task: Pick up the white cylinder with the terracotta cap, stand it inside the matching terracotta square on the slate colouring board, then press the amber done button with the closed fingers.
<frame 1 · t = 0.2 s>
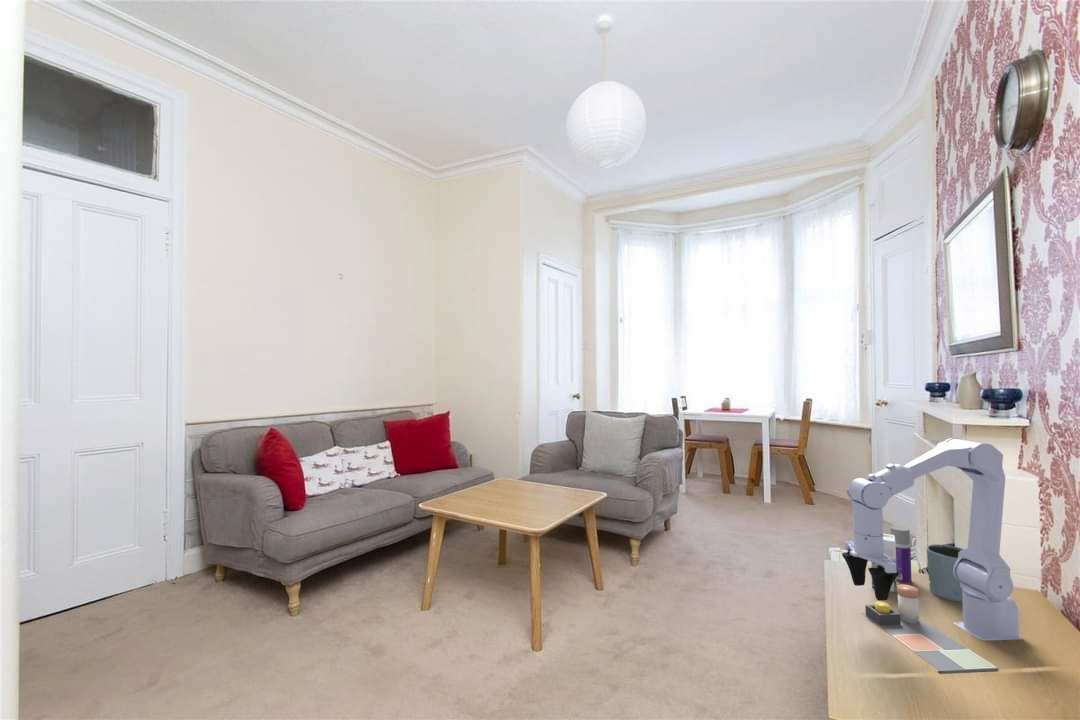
hand: (870, 592, 117), 10 cm above the table, tool pointing down, fingers open, 7 cm apart
button housing: (882, 619, 123), resting on colouring board
teal plant pot: (951, 597, 136), on the table
white cylinder: (908, 619, 123), point 1 cm above the table, touching colouring board
done button: (882, 609, 123), point 3 cm above the table, slide at 0.0 cm
container: (901, 581, 145), on the table
colouring board: (922, 640, 115), on the table
syrup box: (883, 589, 141), on the table
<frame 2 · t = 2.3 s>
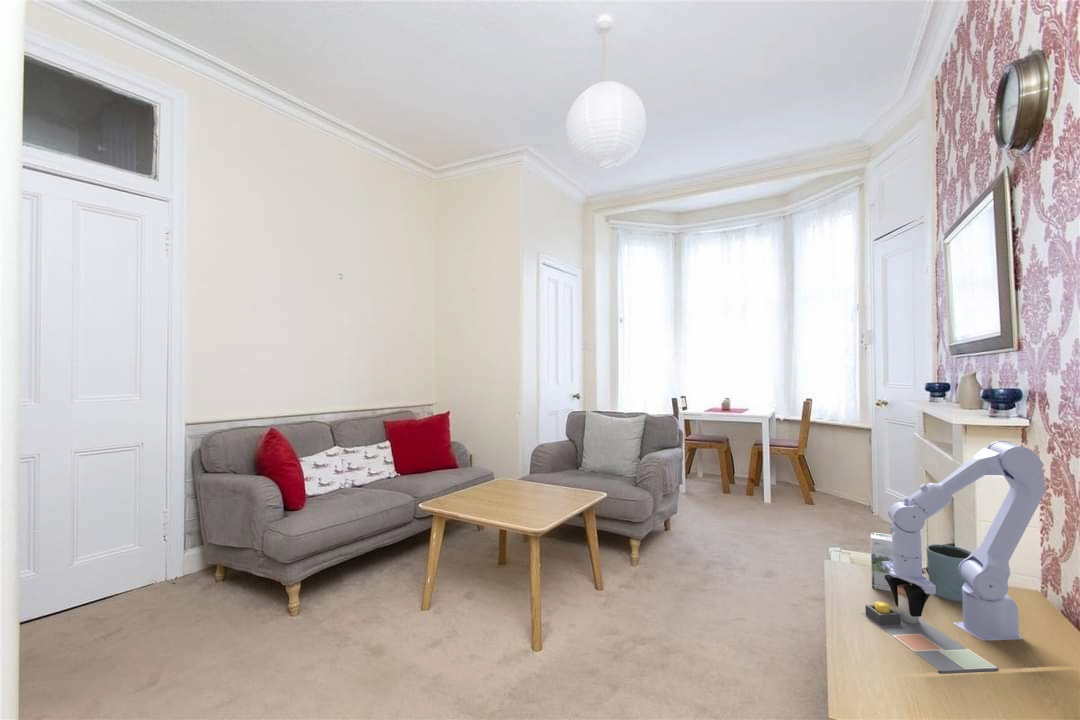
hand: (908, 611, 123), 3 cm above the table, tool pointing down, fingers closed on white cylinder, 4 cm apart
white cylinder: (908, 619, 123), point 1 cm above the table, touching colouring board, gripper
everything else where it was.
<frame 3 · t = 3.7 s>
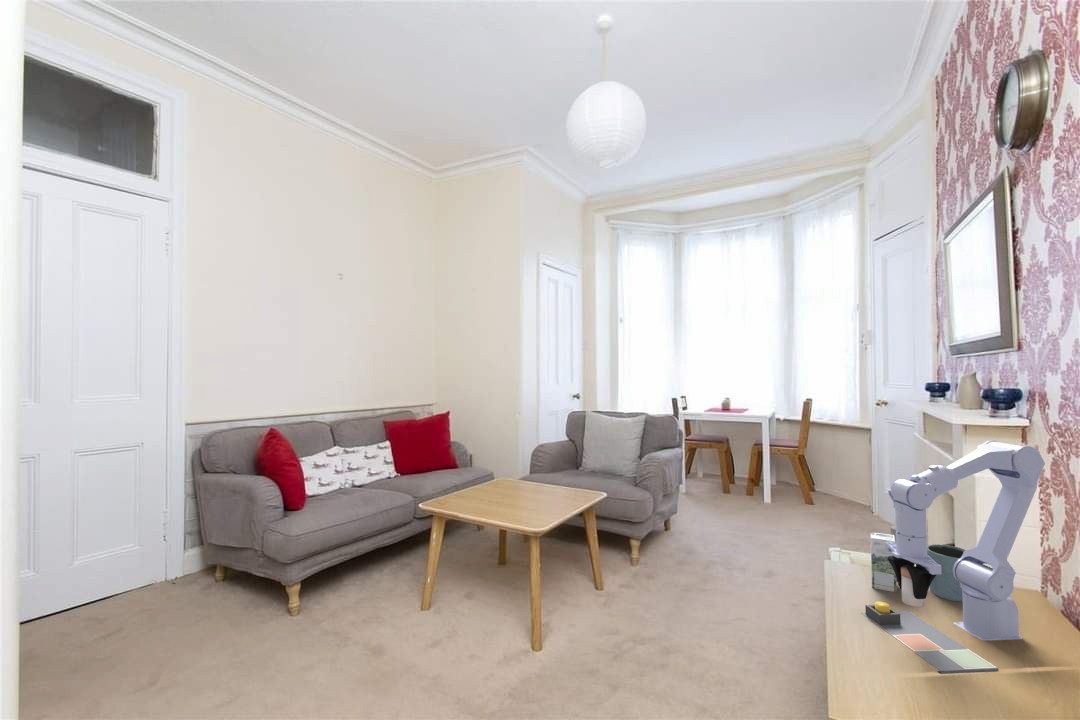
hand: (912, 593, 117), 10 cm above the table, tool pointing down, fingers closed on white cylinder, 4 cm apart
white cylinder: (912, 602, 117), point 8 cm above the table, touching gripper
everything else where it was.
when the fingers open (4 cm above the table, at t = 5.4 s): white cylinder drops 2 cm, resting on colouring board.
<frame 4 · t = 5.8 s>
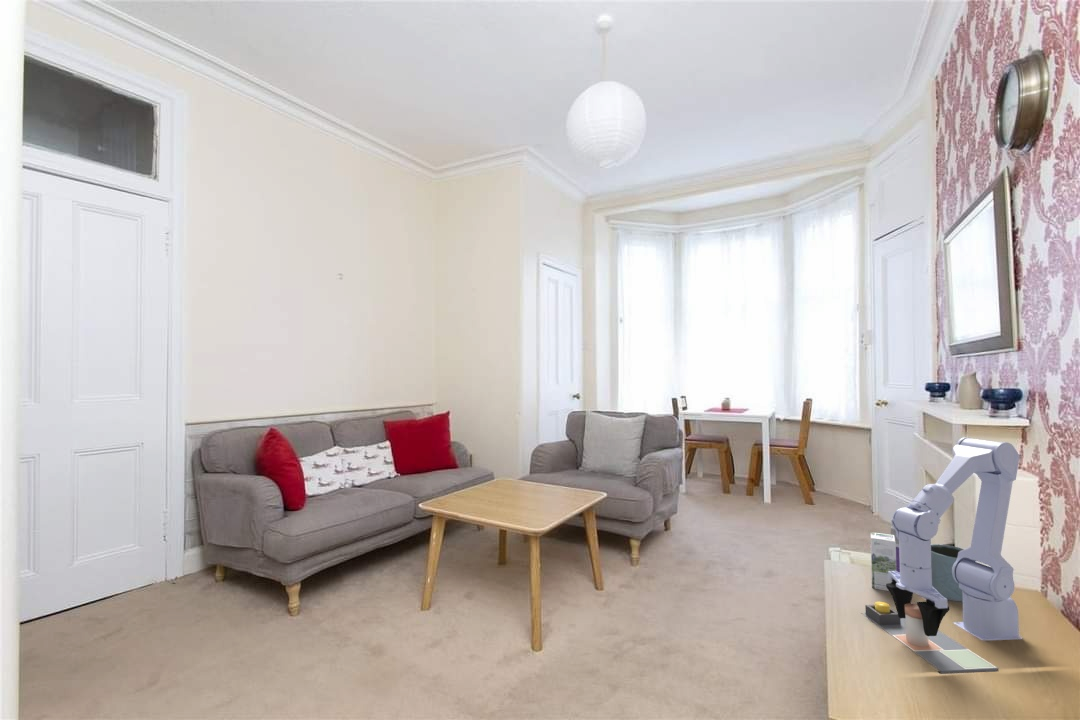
hand: (916, 626, 113), 4 cm above the table, tool pointing down, fingers open, 7 cm apart
white cylinder: (917, 642, 113), point 1 cm above the table, touching colouring board
everything else where it was.
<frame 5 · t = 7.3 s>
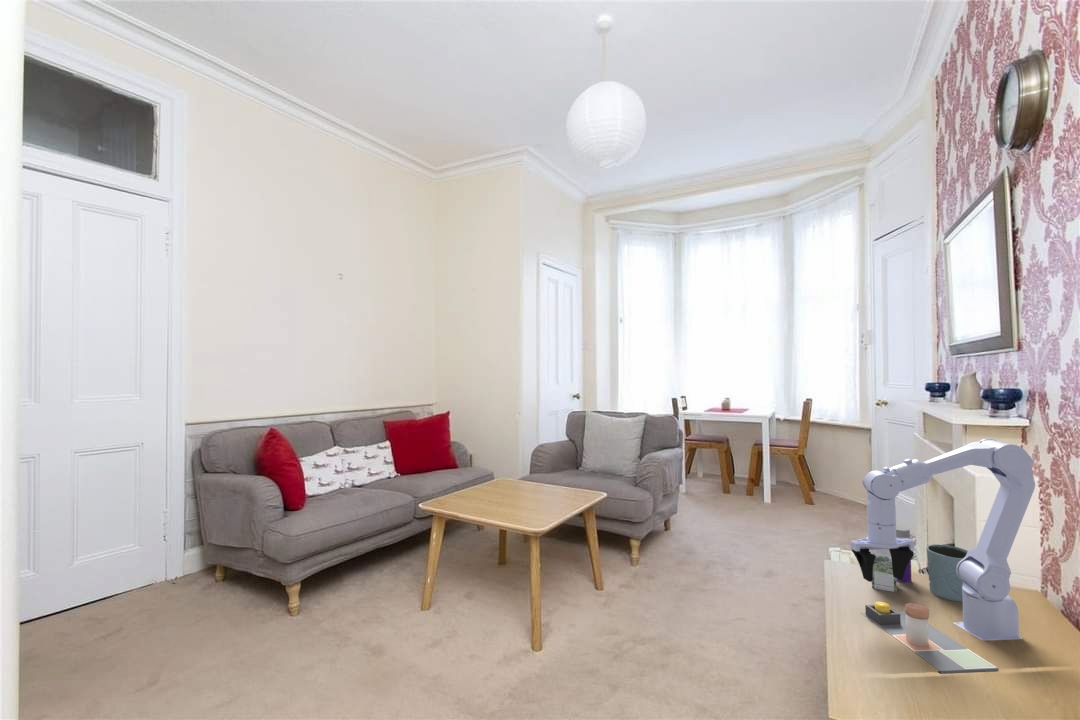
hand: (882, 579, 123), 10 cm above the table, tool pointing down, fingers open, 7 cm apart
nothing on the table moved.
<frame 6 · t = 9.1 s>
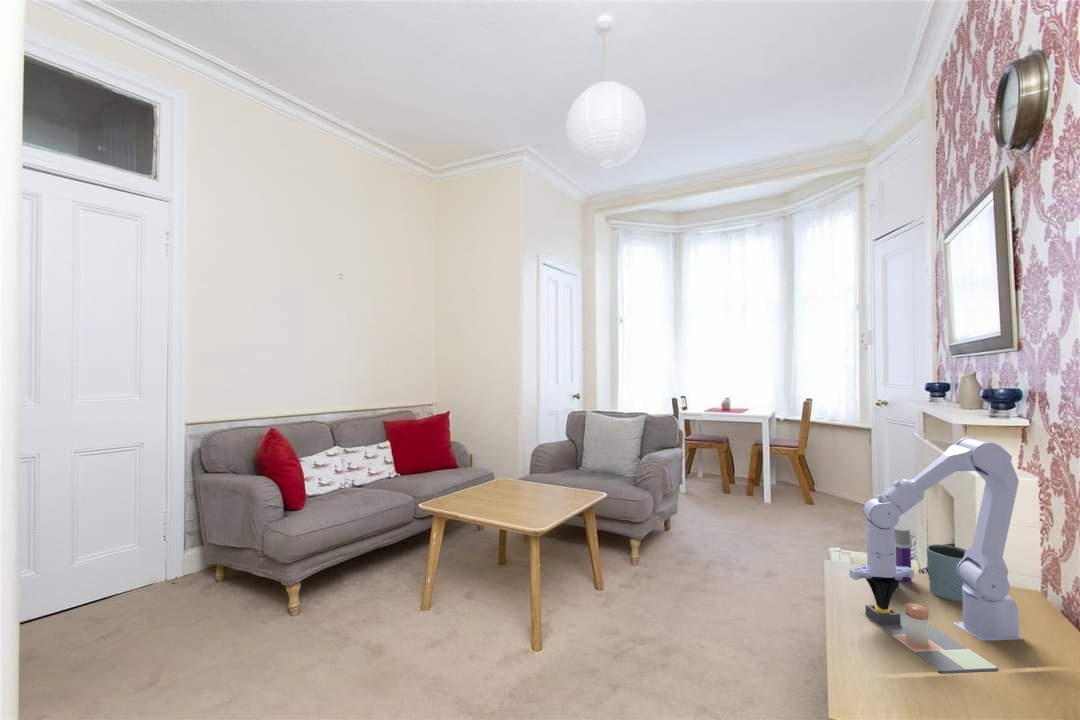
hand: (882, 607, 123), 3 cm above the table, tool pointing down, fingers closed, pressing on done button
done button: (882, 612, 123), point 2 cm above the table, slide at 0.7 cm, touching gripper
everything else where it was.
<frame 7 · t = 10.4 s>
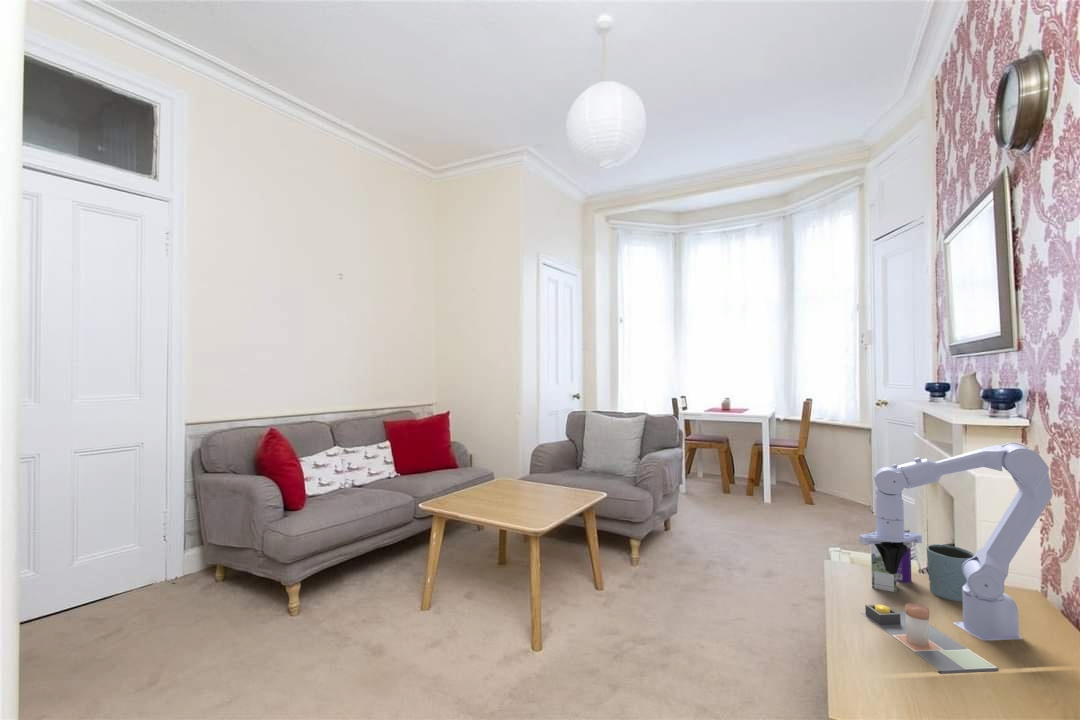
hand: (891, 572, 127), 10 cm above the table, tool pointing down, fingers closed
done button: (882, 612, 123), point 2 cm above the table, slide at 0.7 cm
everything else where it was.
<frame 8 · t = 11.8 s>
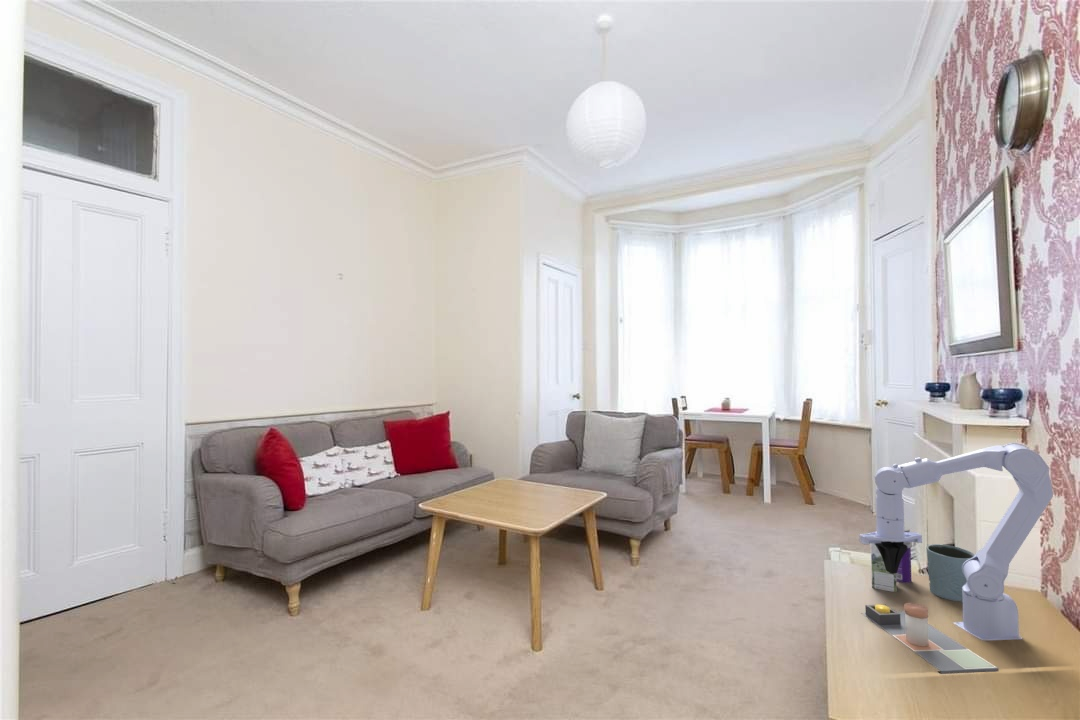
hand: (891, 571, 127), 10 cm above the table, tool pointing down, fingers closed
nothing on the table moved.
at the end: white cylinder 0.1 cm from the target spot on the colouring board, point 0.7 cm above the colouring board's base; white cylinder tilted 1°; done button slide at 0.7 cm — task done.
